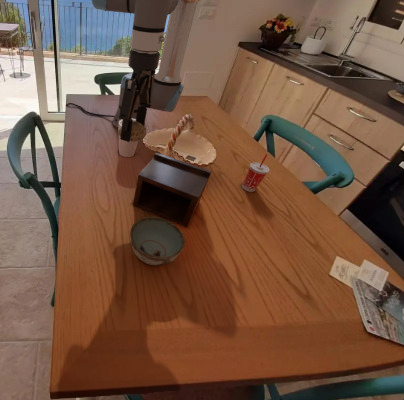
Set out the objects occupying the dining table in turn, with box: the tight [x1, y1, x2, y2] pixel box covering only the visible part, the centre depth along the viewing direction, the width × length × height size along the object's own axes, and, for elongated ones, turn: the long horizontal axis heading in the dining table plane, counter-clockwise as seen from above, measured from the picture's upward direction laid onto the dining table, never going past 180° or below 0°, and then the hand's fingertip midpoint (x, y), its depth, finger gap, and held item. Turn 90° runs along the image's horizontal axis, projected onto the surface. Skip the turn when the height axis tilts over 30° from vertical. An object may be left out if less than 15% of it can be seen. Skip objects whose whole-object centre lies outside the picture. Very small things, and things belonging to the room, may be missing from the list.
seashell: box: [118, 121, 147, 142], centre depth 80 cm, size 8×6×8 cm
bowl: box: [129, 216, 186, 267], centre depth 69 cm, size 14×13×8 cm
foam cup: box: [117, 119, 139, 158], centre depth 106 cm, size 10×9×13 cm
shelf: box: [132, 152, 212, 228], centre depth 83 cm, size 18×13×13 cm
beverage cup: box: [241, 153, 270, 193], centre depth 92 cm, size 6×6×14 cm
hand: (132, 133), depth 80 cm, fingers closed on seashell, 9 cm apart
